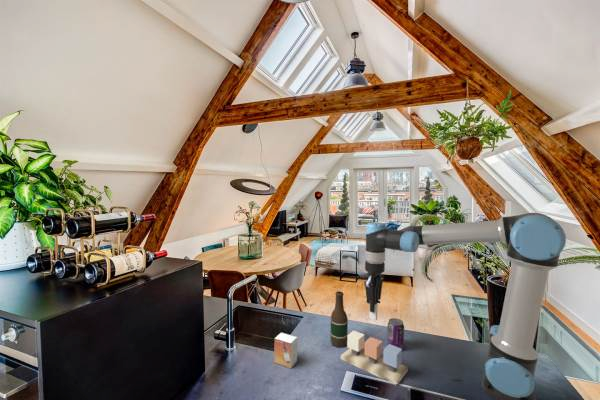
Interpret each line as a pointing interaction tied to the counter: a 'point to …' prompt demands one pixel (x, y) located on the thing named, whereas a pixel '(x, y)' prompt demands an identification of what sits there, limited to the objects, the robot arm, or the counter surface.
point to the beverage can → (395, 333)
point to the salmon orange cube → (373, 348)
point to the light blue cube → (392, 356)
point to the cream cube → (355, 341)
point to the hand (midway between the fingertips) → (373, 318)
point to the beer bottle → (339, 323)
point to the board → (374, 365)
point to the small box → (285, 350)
